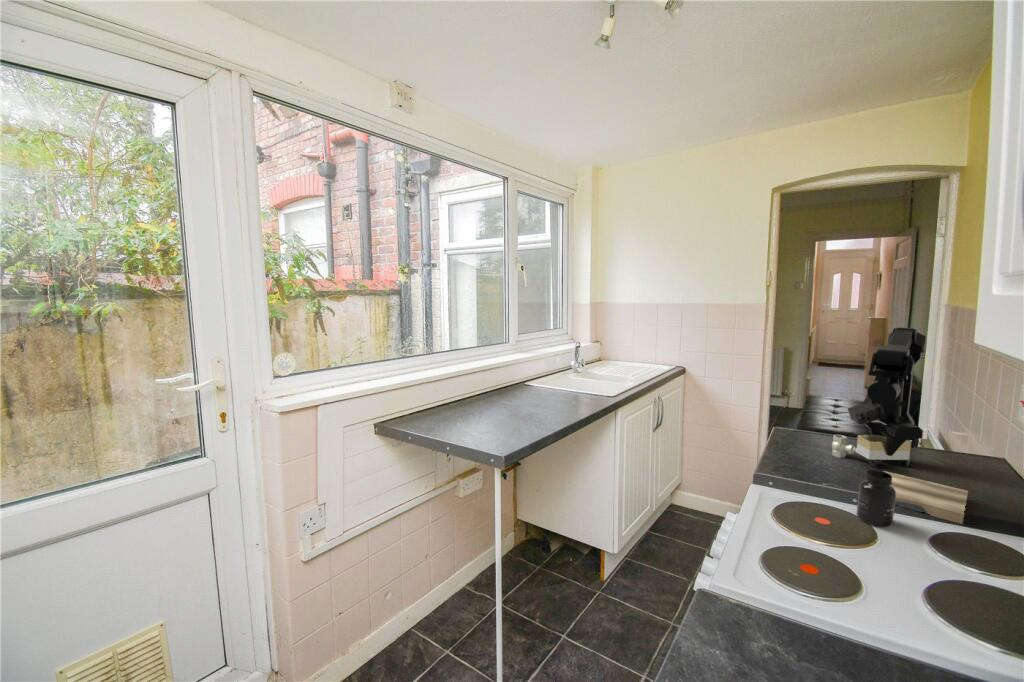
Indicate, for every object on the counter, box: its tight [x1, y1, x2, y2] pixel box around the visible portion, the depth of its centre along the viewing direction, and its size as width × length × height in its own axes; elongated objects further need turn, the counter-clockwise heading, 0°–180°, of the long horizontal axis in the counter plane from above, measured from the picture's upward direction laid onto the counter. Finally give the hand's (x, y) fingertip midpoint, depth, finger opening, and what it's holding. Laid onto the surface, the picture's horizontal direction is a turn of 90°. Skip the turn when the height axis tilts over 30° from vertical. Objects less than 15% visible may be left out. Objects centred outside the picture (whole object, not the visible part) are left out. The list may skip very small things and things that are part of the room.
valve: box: [831, 434, 880, 467], centre depth 140 cm, size 7×7×12 cm
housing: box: [855, 434, 911, 461], centre depth 120 cm, size 10×5×5 cm, turn 84°
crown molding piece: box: [882, 470, 969, 525], centre depth 116 cm, size 16×17×2 cm
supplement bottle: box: [856, 469, 896, 528], centre depth 106 cm, size 7×7×12 cm
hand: (882, 451), depth 120 cm, fingers closed on housing, 5 cm apart
